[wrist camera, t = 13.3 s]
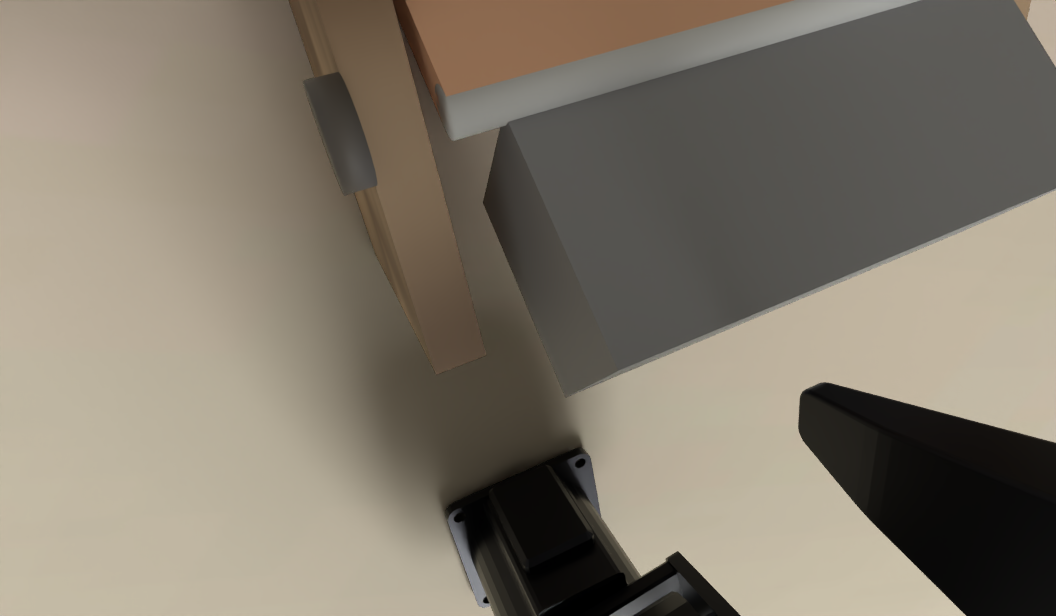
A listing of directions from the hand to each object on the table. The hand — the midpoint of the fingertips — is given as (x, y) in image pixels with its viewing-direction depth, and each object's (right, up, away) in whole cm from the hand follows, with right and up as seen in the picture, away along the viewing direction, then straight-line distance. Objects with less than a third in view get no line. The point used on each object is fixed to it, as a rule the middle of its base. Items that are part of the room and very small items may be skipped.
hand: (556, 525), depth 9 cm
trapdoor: (+3, +10, +8) cm, 13 cm away
